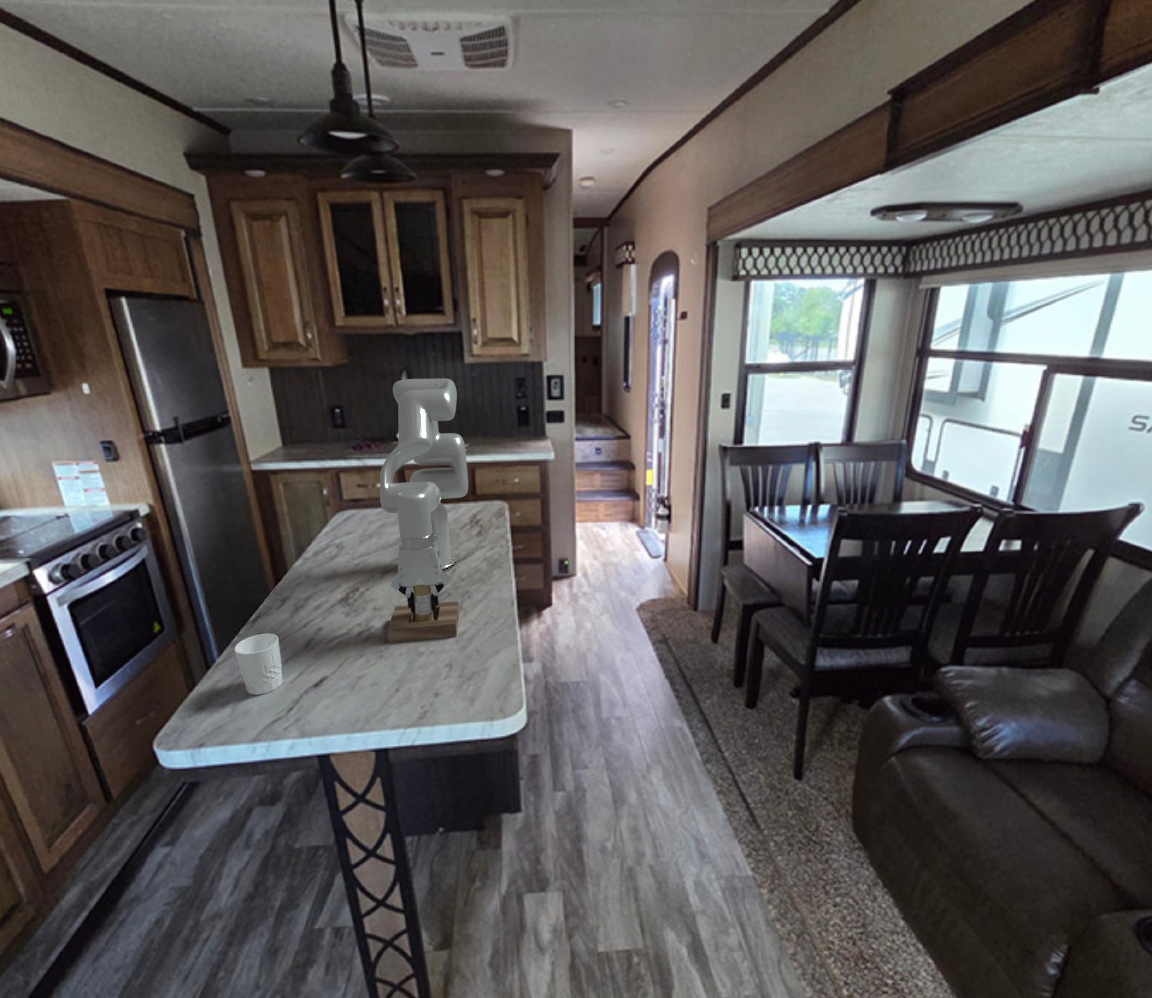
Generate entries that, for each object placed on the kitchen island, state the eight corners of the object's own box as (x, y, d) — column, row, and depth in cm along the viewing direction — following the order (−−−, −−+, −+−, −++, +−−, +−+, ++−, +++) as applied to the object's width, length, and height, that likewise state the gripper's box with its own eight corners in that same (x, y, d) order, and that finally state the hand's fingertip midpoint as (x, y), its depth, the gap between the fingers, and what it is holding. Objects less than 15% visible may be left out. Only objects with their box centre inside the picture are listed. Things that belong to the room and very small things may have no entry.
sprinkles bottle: (417, 618, 138) (412, 570, 135) (435, 617, 139) (431, 569, 135) (414, 627, 134) (409, 578, 130) (432, 626, 135) (428, 577, 131)
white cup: (238, 700, 110) (229, 656, 107) (249, 677, 117) (241, 636, 114) (281, 692, 112) (273, 650, 109) (289, 671, 119) (282, 631, 116)
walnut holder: (396, 618, 141) (395, 606, 140) (459, 613, 144) (458, 601, 143) (388, 642, 130) (387, 629, 129) (456, 636, 132) (455, 623, 131)
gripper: (453, 533, 135) (459, 599, 140) (383, 537, 133) (391, 604, 138) (451, 544, 128) (457, 613, 133) (377, 548, 126) (386, 619, 131)
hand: (423, 608), depth 135 cm, fingers open, 4 cm apart
